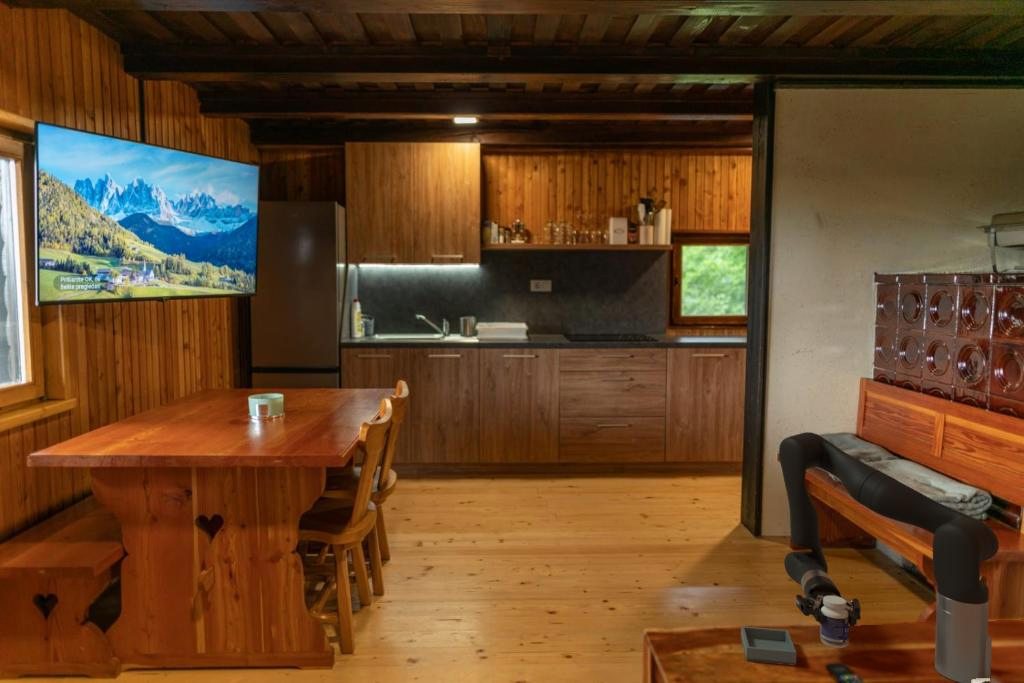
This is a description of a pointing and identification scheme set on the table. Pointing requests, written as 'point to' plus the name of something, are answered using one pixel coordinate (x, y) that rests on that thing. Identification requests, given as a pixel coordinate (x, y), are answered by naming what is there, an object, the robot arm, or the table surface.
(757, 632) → the tray
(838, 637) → the pill bottle
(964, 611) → the robot arm
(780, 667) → the table surface
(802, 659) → the table surface
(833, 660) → the table surface
